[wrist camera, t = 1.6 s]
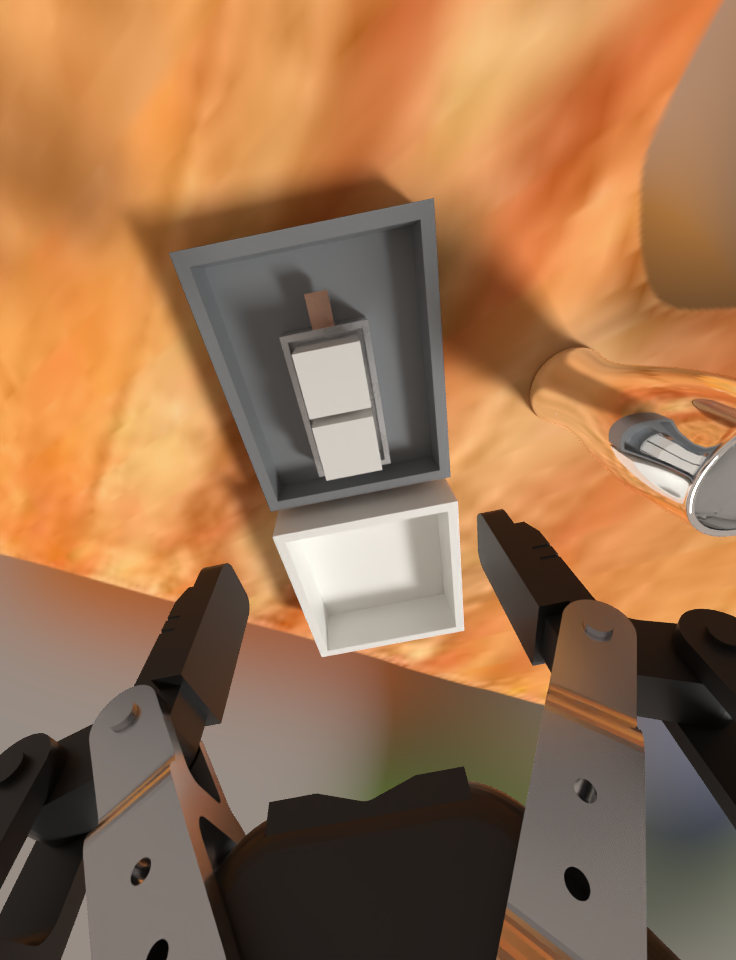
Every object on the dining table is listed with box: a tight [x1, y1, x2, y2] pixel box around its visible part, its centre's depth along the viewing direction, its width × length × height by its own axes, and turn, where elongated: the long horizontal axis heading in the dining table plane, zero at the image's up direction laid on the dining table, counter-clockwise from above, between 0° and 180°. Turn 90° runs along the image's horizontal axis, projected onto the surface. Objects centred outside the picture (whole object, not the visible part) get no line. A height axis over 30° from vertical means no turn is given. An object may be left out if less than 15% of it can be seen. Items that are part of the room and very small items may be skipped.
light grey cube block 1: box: [292, 332, 371, 419], centre depth 23 cm, size 4×4×4 cm
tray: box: [169, 198, 451, 512], centre depth 24 cm, size 18×15×3 cm
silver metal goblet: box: [530, 347, 736, 537], centre depth 21 cm, size 7×7×15 cm
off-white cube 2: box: [312, 408, 382, 481], centre depth 25 cm, size 4×4×4 cm
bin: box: [272, 478, 464, 657], centre depth 33 cm, size 16×15×5 cm
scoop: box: [279, 289, 391, 477], centre depth 24 cm, size 12×6×2 cm, turn 10°
